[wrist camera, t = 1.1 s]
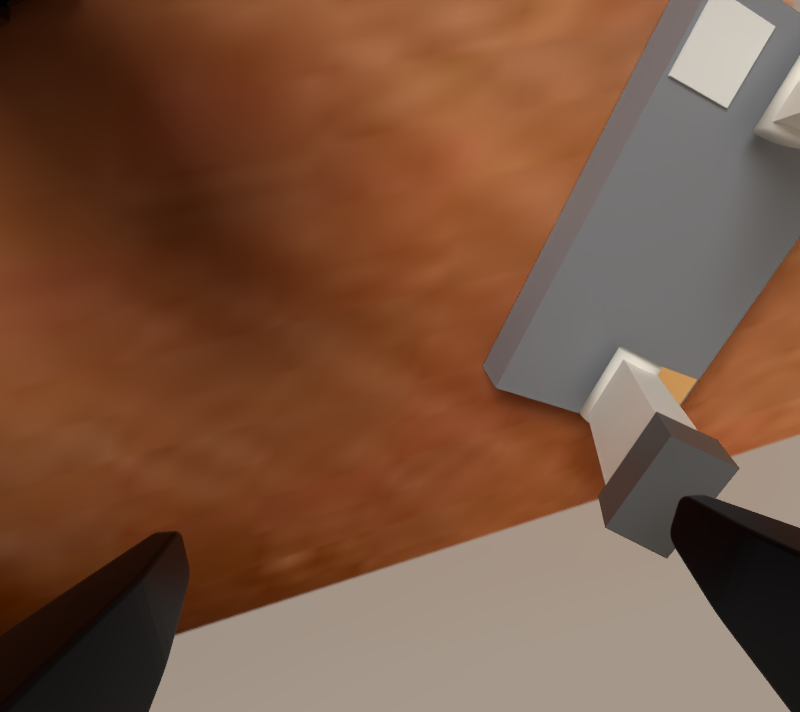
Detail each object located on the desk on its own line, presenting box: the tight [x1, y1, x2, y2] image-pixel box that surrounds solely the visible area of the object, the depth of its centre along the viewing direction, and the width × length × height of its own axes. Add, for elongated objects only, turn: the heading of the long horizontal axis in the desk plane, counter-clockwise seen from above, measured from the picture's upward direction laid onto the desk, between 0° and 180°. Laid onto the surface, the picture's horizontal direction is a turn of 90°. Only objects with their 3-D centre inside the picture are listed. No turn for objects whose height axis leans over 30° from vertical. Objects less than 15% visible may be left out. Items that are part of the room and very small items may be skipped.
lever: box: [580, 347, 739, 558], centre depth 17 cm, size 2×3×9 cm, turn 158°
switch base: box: [483, 0, 800, 414], centre depth 20 cm, size 9×16×2 cm, turn 158°
